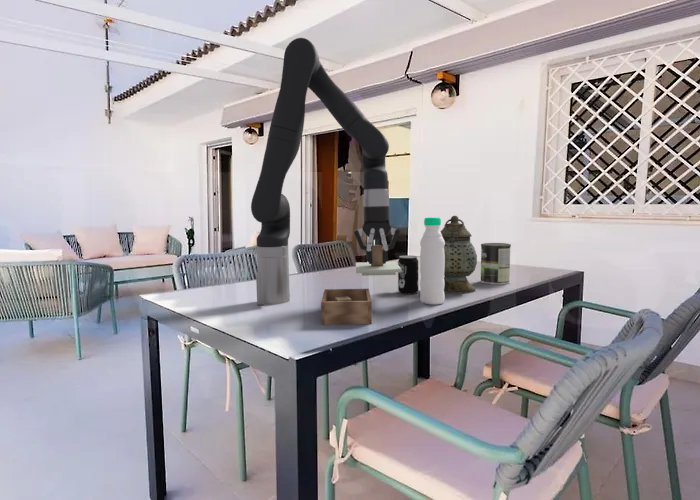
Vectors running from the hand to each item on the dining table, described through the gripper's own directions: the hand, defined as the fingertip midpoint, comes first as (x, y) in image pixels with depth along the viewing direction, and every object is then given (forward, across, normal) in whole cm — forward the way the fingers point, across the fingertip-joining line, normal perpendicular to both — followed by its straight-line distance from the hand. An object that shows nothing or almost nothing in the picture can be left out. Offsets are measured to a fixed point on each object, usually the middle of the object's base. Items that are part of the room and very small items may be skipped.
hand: (377, 263), depth 126 cm
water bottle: (+12, +16, -2) cm, 20 cm away
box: (+12, -9, -18) cm, 23 cm away
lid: (+1, 0, 0) cm, 1 cm away
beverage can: (+12, +11, +13) cm, 21 cm away
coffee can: (+12, +45, +29) cm, 55 cm away
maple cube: (+11, -10, -13) cm, 20 cm away
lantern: (+12, +27, +16) cm, 34 cm away
